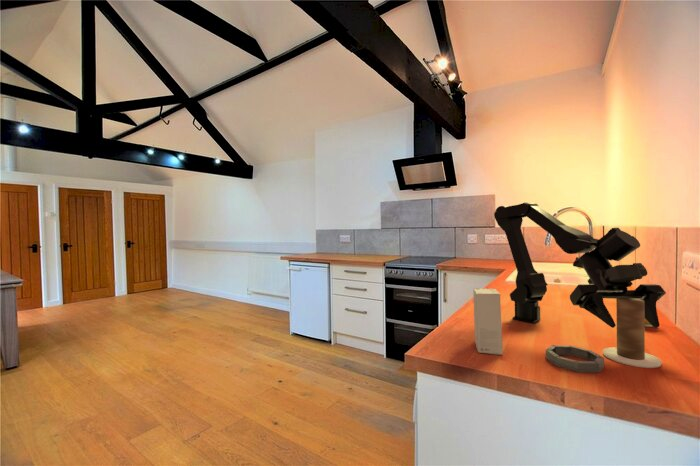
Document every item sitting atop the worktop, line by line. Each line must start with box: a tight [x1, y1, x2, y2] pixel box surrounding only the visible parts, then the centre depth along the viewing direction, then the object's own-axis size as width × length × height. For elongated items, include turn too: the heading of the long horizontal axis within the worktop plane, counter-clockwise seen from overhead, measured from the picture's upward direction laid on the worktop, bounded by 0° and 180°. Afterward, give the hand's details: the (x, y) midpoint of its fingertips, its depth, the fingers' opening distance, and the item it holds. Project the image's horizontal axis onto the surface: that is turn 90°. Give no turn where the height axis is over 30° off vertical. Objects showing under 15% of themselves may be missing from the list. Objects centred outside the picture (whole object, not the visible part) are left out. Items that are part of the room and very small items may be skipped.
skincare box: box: [472, 288, 504, 356], centre depth 79 cm, size 8×6×15 cm
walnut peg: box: [616, 297, 646, 360], centre depth 72 cm, size 5×5×13 cm
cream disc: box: [602, 346, 662, 369], centre depth 72 cm, size 10×10×1 cm
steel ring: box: [545, 344, 605, 374], centre depth 70 cm, size 10×10×2 cm
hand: (635, 326), depth 70 cm, fingers open, 9 cm apart
